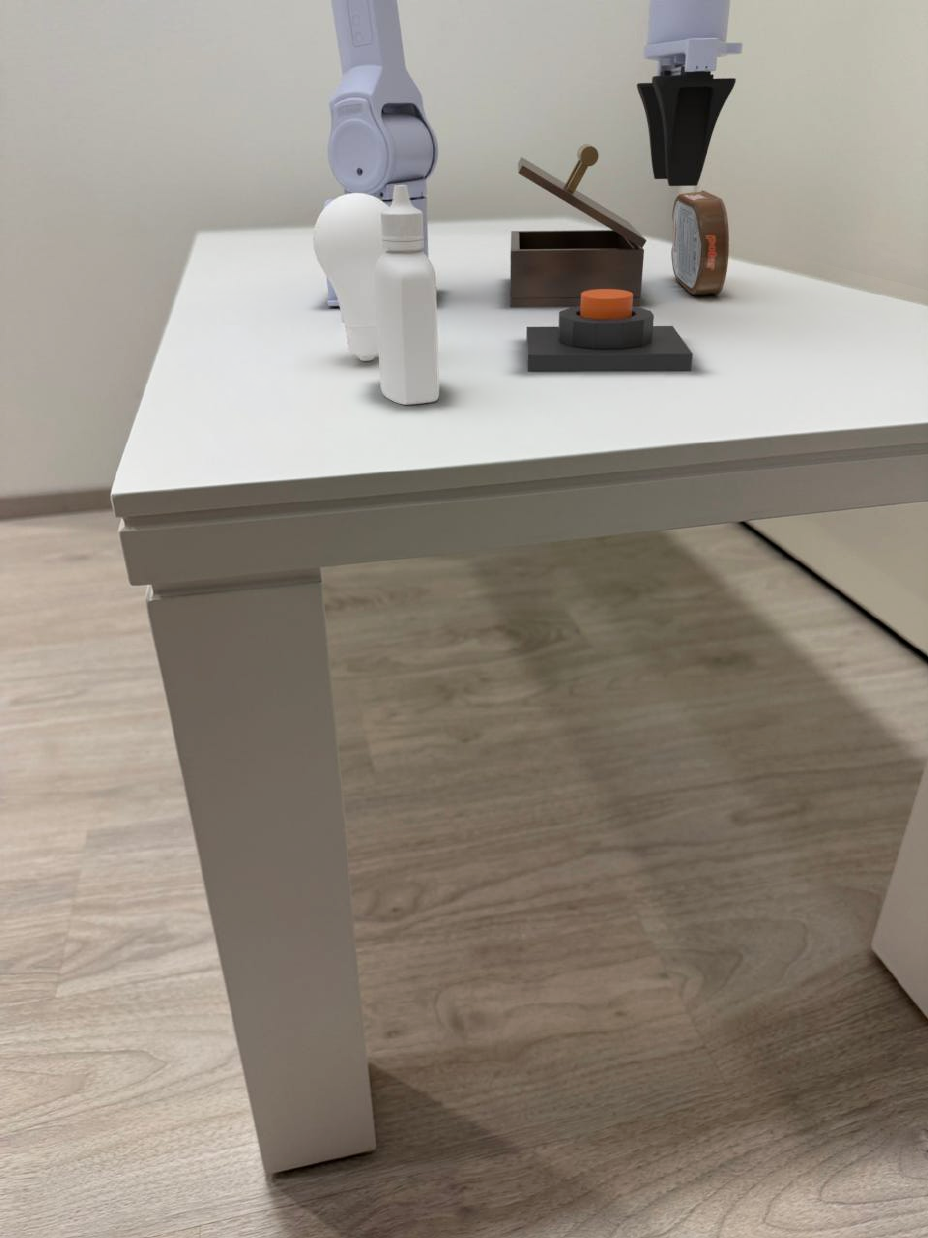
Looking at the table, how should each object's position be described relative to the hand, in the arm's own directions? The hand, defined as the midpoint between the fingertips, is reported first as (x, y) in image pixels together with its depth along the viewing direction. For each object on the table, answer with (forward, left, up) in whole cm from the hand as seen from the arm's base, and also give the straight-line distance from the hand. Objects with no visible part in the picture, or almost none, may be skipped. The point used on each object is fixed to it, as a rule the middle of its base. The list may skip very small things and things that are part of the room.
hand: (674, 181), depth 73 cm
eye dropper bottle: (-19, -23, -11) cm, 32 cm away
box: (-7, +13, -10) cm, 18 cm away
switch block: (-6, -13, -10) cm, 18 cm away
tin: (+5, +15, -11) cm, 19 cm away
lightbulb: (-23, -14, -11) cm, 29 cm away
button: (-6, -13, -8) cm, 16 cm away
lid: (-7, +13, -3) cm, 15 cm away
